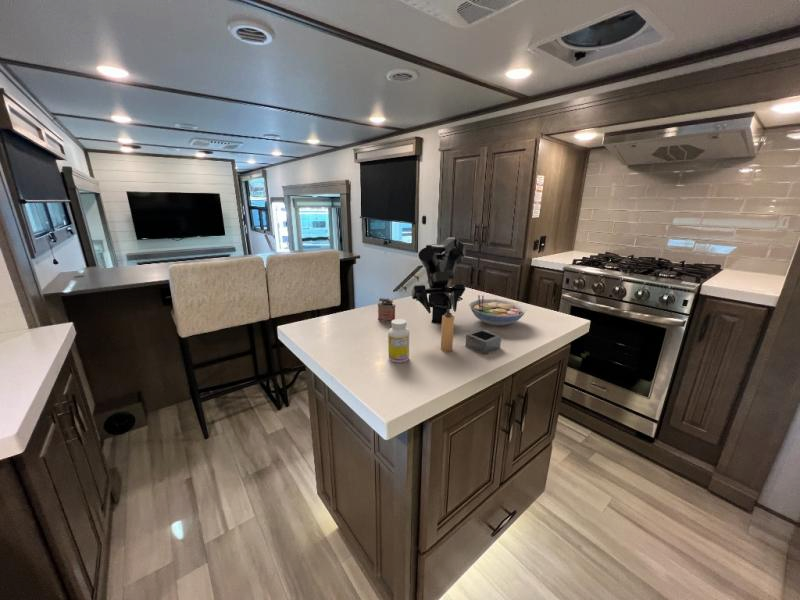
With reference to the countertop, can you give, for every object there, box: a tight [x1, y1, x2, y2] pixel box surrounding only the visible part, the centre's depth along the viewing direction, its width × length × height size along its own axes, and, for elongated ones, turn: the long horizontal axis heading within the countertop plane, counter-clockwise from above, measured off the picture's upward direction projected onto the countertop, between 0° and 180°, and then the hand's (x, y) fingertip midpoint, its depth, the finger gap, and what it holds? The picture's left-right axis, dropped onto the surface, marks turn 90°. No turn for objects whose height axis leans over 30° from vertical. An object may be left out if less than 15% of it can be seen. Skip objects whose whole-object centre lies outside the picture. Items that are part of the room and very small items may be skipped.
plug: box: [440, 309, 455, 353], centre depth 105 cm, size 4×4×15 cm
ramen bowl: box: [468, 295, 527, 327], centre depth 131 cm, size 25×23×8 cm
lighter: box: [377, 297, 396, 324], centre depth 132 cm, size 8×3×10 cm, turn 65°
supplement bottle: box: [387, 318, 410, 364], centre depth 99 cm, size 7×7×13 cm
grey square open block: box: [465, 328, 502, 356], centre depth 109 cm, size 8×8×4 cm
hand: (442, 312), depth 109 cm, fingers open, 9 cm apart
